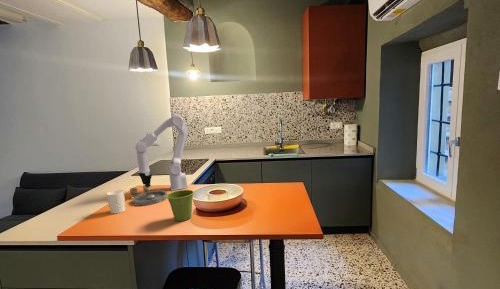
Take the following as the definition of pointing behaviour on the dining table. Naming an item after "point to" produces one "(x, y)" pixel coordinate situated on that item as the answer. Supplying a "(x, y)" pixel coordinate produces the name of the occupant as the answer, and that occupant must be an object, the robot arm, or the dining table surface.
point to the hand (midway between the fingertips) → (146, 185)
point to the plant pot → (181, 204)
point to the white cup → (116, 201)
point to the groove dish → (148, 202)
